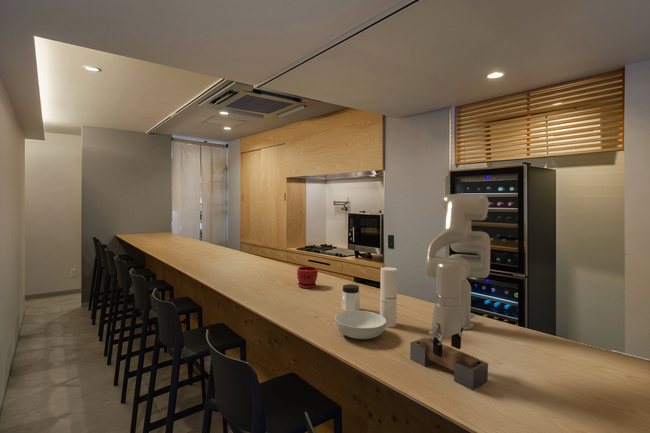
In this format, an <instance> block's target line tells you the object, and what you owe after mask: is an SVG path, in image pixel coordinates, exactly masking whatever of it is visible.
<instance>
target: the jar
mask: <svg viewBox="0 0 650 433" xmlns="http://www.w3.org/2000/svg"><path fill="white" fill-rule="evenodd" d="M360 295H361V292H360V286H359V285H357V284H353V283H352V284H350V283H349V284H344V285H342V291H341V310H342V311H343V312H346V311H361V308H360V306H361V305H360V303H361V302H360V301H361V300H360V299H361V298H360V297H361V296H360Z"/></svg>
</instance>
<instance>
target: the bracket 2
mask: <svg viewBox="0 0 650 433" xmlns="http://www.w3.org/2000/svg"><path fill="white" fill-rule="evenodd" d="M488 376H489V362H486V361H484V360H481V359H479V358H478V365H476V366H474V367H469V366H467V365H465V364H462V363H460V362H458V361H456V362H454V371H453V381H454V383H457V384H458V385H460V386H462V387H465V388H466V389H469V390H471V391H475V390H476V389H478V388H481V387H482V386H484V385H486V384H488V383H487V382H489V381H488V380H489V377H488ZM485 383H486V384H485ZM483 384H484V385H483Z"/></svg>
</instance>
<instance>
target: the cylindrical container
mask: <svg viewBox="0 0 650 433" xmlns="http://www.w3.org/2000/svg"><path fill="white" fill-rule="evenodd" d="M397 287H398V268H396V267H391V266H390V267H389V266H387V267H384V266H383V267H380V293H379V294H380V295H379V296H380V297H379V298H380V300H379V315H381V316H383V317H384V318H385V319H386V326H385V328H394V327H396V326H397V300H398V299H397V297H398V294H397V293H398V290H397V289H398V288H397Z"/></svg>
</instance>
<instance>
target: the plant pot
mask: <svg viewBox="0 0 650 433" xmlns="http://www.w3.org/2000/svg"><path fill="white" fill-rule="evenodd" d="M296 270H297V271H296V272H297V280H298V282H297V285H298V287H299V288H301V289H302V288H303V289H312V288H314V287H316V285H317V283H316V282H317V278H318V272H319V271H318V267H316V266H315V267H314V266H308V265H307V266H306V265H305V266H299V267H297V269H296Z"/></svg>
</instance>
